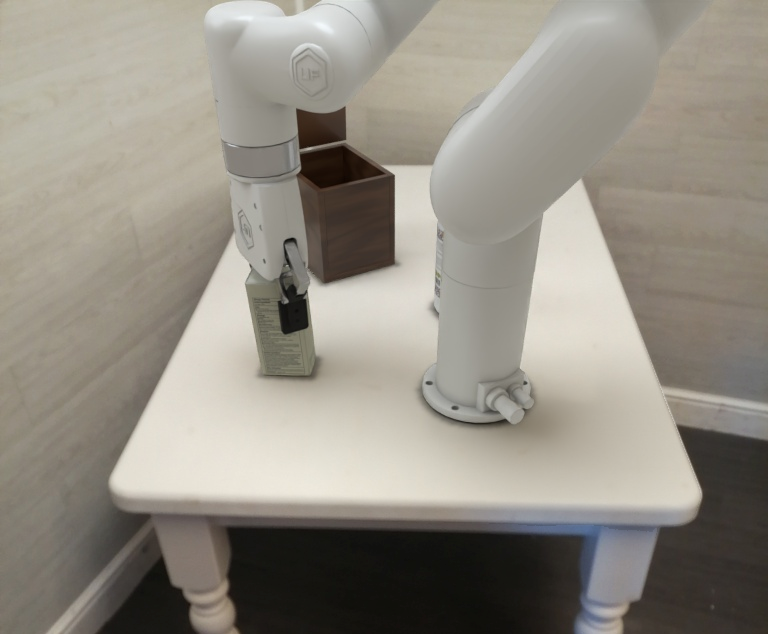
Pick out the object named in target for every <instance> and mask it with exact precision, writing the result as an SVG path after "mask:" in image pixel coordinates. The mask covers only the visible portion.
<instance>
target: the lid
mask: <svg viewBox="0 0 768 634" xmlns="http://www.w3.org/2000/svg"><path fill="white" fill-rule="evenodd" d="M346 106H347V105H346ZM346 106H345V107H343V108H342V109H340V110H337V111H335V112H331V113H314V112H309V111H305V110H301V109H297V108H296V116H297V127H298V139H299V150H304V149H309V148H314V147H318V146H319V147H320V146H325V145H329V144H334V143H339V142H344V141H347V107H346Z"/></svg>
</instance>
